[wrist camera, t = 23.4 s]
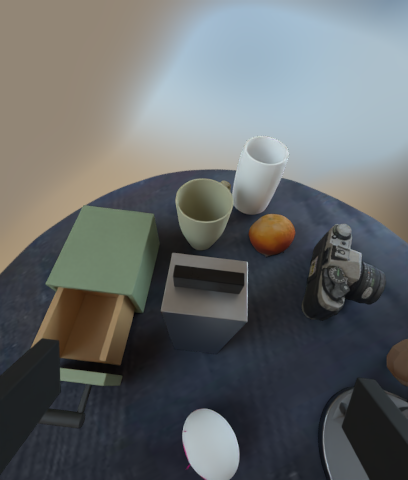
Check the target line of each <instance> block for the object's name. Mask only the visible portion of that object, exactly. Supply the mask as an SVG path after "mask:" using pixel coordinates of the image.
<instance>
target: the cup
mask: <svg viewBox="0 0 408 480" xmlns="http://www.w3.org/2000/svg"><path fill="white" fill-rule="evenodd" d="M288 157H289V152H288V149H287V147H286V146H285V145H284V144H283V143H282V142H280V141H279V140H277V139H275V138H272V137H268V136H257V137H253V138H251V139H249V140H248V141H247V142H246V143H245V145H244V147H243V150H242V153H241V156H240V159H239V163H238V166H237V170H236V175H235V180H234V185H233V192H232V196H233V202H234V203H233V205H234V206H235V207H236V208H237V209H238V210H239V211H241V212H242V213H245V214H250V215H254V214H259V213H261V212H263V211H264V210H265V209H266V207H267V206H268V204H269V202H270V200H271V198H272V197H273V195H274V193H275V191H276V189H277V186H278V184H279V182H280V180H281V177H282V175H283V172H284V169H285V166H286V163H287V160H288Z"/></svg>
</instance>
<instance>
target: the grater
mask: <svg viewBox="0 0 408 480" xmlns="http://www.w3.org/2000/svg"><path fill="white" fill-rule="evenodd" d="M161 313H162V316H163V319H164V321H165V324H166V327H167V330H168V333H169V335H170V338H171V341H172V344H173V347H174V349H177V350H185V351H194V352H202V353H210V354H217V353H218V352H219V351H220V350H221V349H222V348H223V347H224V346H225V344H226V343H227V342H228V341H229V340H230V339H231V338H232V337H233V336H234V335H235V334H236V333H237V332H238V331H239V330H240V329H241V328H242V327H243V326H244V325H245V324H246V323H247V321H248V262H245V261H237V260H229V259H220V258H212V257H204V256H196V255H187V254H179V253H172V257H171V262H170V267H169V272H168V277H167V282H166V287H165V292H164V297H163V302H162V307H161Z"/></svg>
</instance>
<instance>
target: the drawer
mask: <svg viewBox="0 0 408 480" xmlns="http://www.w3.org/2000/svg"><path fill="white" fill-rule="evenodd" d="M134 311H135V306H134V304H133V303H132V301H131V300H130V298H129V297H128V296H126V295H118V294H109V293H101V292H93V291H85V290H77V289H69V288H61V287H58V289H57V291H56V293H55V296H54V298H53V300H52V302H51V305H50V307H49V309H48V311H47V313H46V316H45V318H44V320H43V322H42V324H41V327H40V329H39V331H38V333H37V336H36V338H35V340H34V342H33V344H32V347H33V346H34V345H35V344H36V343H37V342H38V341H39V340H40V339H42V338H44V339H52V340H59V351H60V358H65V359H73V360H81V361H89V362H97V363H105V364H113V365H121V362H122V358H123V354H124V350H125V346H126V342H127V338H128V334H129V331H130V327H131V323H132V319H133V315H134ZM32 347H31V348H32ZM121 380H122V375H114V374H107V373H99V372H91V371H83V370H75V369H67V368H60V381H68V382H76V383H84V384H86V385H85V389H84V392H83V395H82V398H81V401H80V404H79V408H78V411H77V412H72V411H64V410H56V409H49V408H48V410H47V411H46V413H45V414H44V415H43V417H42V418H41V419H40V421H39V422H38V423H39V424H47V425H55V426H63V427H71V428H81V427H82V425H83V423H84V420H85V413H83V412H84V410H85V407H86V403H87V400H88V397H89V393H90V390H91V387H92V385H100V386H120V384H121Z"/></svg>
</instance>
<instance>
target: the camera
mask: <svg viewBox="0 0 408 480" xmlns="http://www.w3.org/2000/svg"><path fill="white" fill-rule="evenodd" d="M351 241H352V235H351V228H350V226H348V225H346V224H340V225H337V224H336V225H335V226H333V227H332V228H331V229H330V230H329V231H328V232H327V233H326V234H325V235H324V237H323V238H322V239H321V240H320V241H319V242H318V243H317V245H316V246H315V248H314V251H313V256H312V260H311V266H310V272H309V277H308V279H307V287H306V293H305V296H304V300H303V302H302V311H303V313H304V314H305V315H306V317H308V318H310V319H317V320H322V321H323V320H325V319H328V318H329V317H331V316H333V315H336V314H337V313H338V312H339V311H340V310H341V309H342V307H343V306H344V303H345V301H344V299H349V300H354V301H356V302H358V303H366V304H372V303H374V302H376V301H377V300H378V299H379V298H380V296H381V294H382V293H383V291H384V288H385V283H386V281H385V275H384V273H383V272H382V271H381V270H378V269H377V268H376V267H375V266H372V265H369V264H366V263H365V262H363V261H361V260H362V254H361V253H360V252H357V251H354V250H351V249H350V247H351Z"/></svg>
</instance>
